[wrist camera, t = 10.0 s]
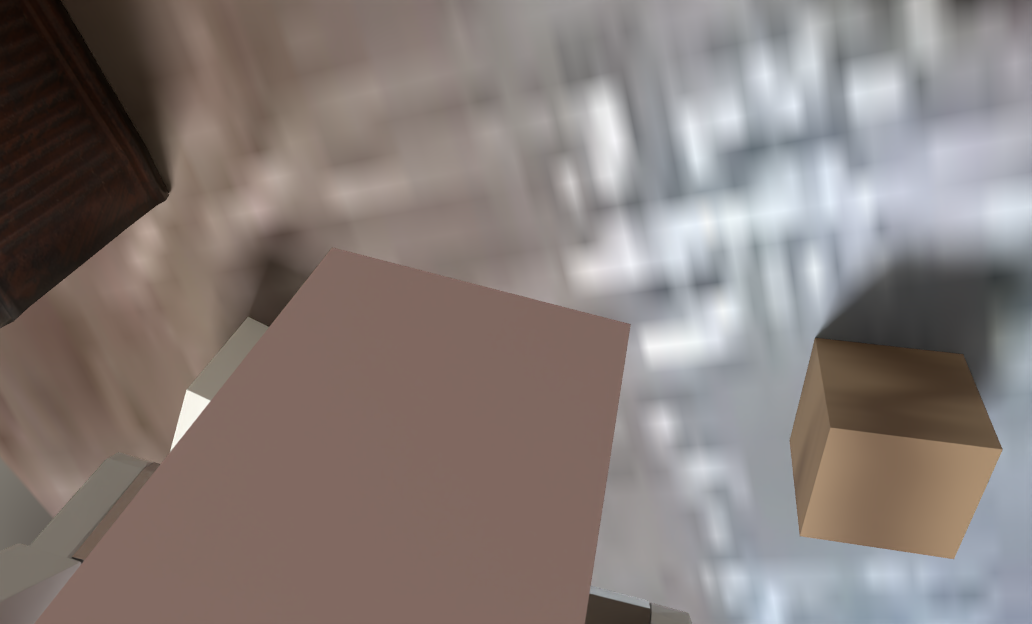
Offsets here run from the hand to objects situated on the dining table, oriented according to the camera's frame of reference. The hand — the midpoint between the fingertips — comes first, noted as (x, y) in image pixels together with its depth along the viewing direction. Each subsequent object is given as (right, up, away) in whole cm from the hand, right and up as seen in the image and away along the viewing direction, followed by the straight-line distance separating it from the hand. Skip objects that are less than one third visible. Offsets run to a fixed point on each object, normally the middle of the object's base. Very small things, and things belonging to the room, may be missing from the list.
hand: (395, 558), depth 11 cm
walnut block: (+15, 0, +20) cm, 25 cm away
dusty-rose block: (+1, +2, +3) cm, 3 cm away
